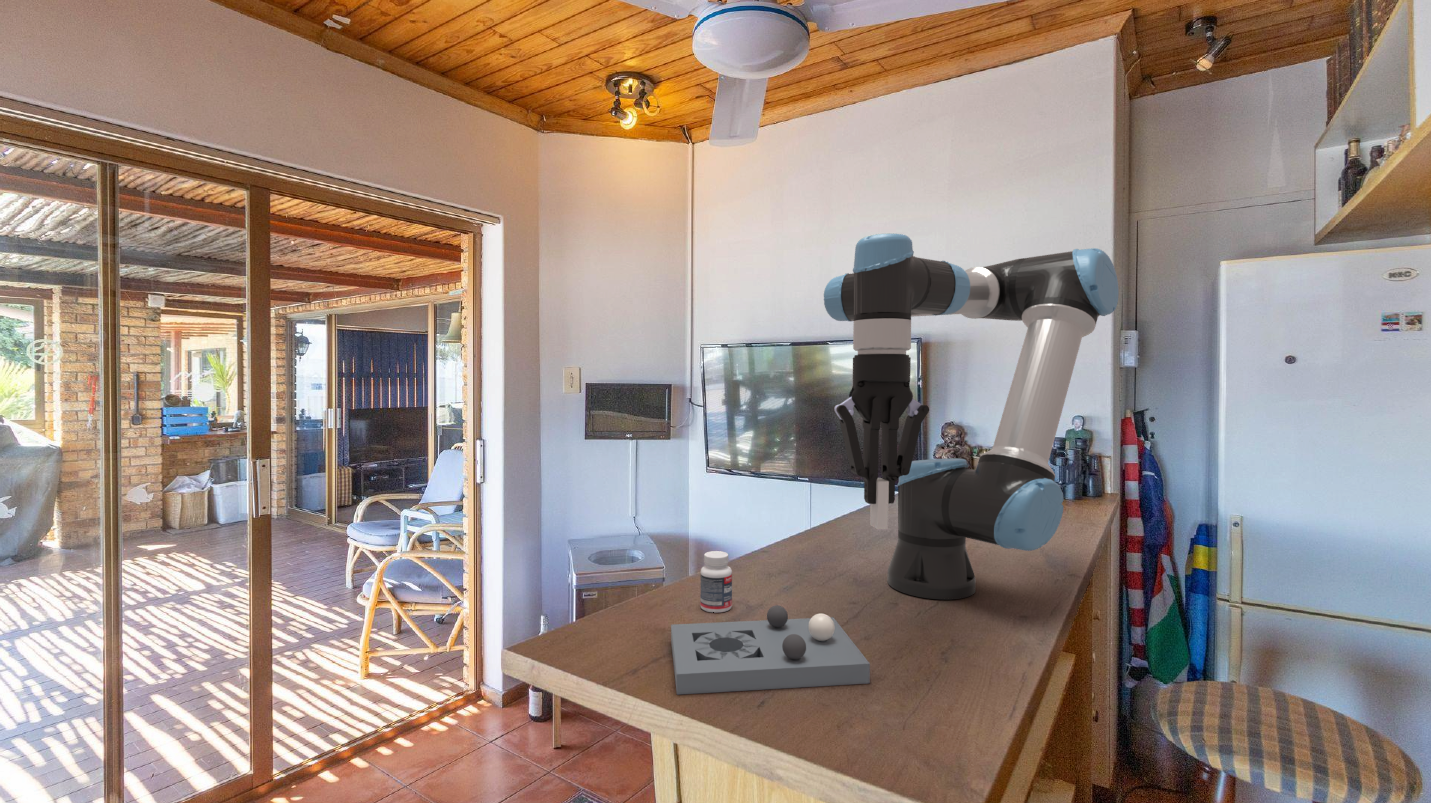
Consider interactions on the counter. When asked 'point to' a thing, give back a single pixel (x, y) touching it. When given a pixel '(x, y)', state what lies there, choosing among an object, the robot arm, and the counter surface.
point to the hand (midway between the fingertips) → (878, 527)
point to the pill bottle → (716, 583)
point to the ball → (821, 627)
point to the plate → (761, 657)
